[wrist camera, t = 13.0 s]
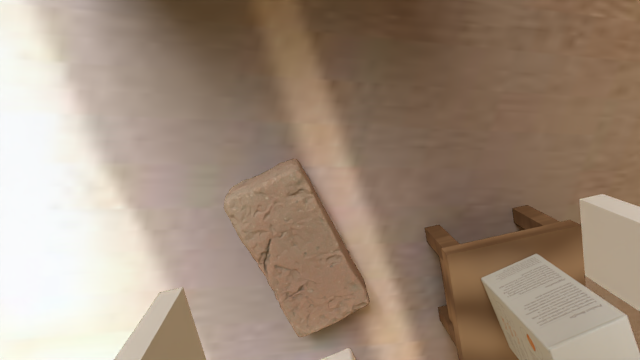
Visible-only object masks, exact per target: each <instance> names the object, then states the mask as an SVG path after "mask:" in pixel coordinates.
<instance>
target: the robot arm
mask: <svg viewBox="0 0 640 360" xmlns="http://www.w3.org/2000/svg"><path fill="white" fill-rule="evenodd" d="M579 200H580V213H581V227H582V241H583V254H584V268H585V276H586V277H588V278H589V279H591V280H592V281H594V282H595V283H597V284H598V285H600V286H602V287H603V288H605V289H606V290H608V291H609V292H611V293H612V294H614V295H615V296H617V297H618V298H620V299H621V300H623V301H624V302H626V303H628V304H629V305H631V306H632V307H634V308H635V309H637V310H638V311H640V207H639V206H636V205H633V204H630V203H627V202H624V201H621V200H619V199H616V198H613V197H610V196H607V195H604V194H600V195H596V196H591V197H587V198H582V199H579ZM114 360H206V358H205V355H204V351H203V348H202V345H201V342H200V339H199V336H198V333H197V330H196V326H195V323H194V320H193V317H192V314H191V311H190V308H189V305H188V301H187V298H186V295H185V292H184V289H183V287H182V288H178V289H173V290H169V291H164V292H160V293H159V294H158V296H157V297H156V299H155V300H154V302H153V303H152V305H151V306H150V308H149V309H148V311H147V312H146V313H145V315H144V316H143V318H142V319H141V321H140V322H139V324H138V325H137V327H136V328H135V330H134V331H133V333H132V334H131V335H130V337H129V338H128V340H127V341H126V343H125V344H124V346H123V347H122V349H121V350H120V352H119V353H118V354H117V356H116V357H115V359H114Z"/></svg>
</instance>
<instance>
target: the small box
mask: <svg viewBox="0 0 640 360" xmlns="http://www.w3.org/2000/svg"><path fill="white" fill-rule="evenodd" d="M481 281H482V283H483V285H484V287H485V290H486V292H487V295H488V297H489V299H490V302H491V304H492V306H493V309H494V311H495V313H496V316H497V318H498V321H499V323H500V326H501V328H502V330H503V333H504V335H505V337H506V340H507V342H508V345H509V347H510V349H511V350H512V351H513V353H514V354H515V355H516V356H517V358H518V359H519V360H640V351H639V348H638V346H637V343H636V339H635V337H634V334H633V330H632V327H631V325H630V322H629V318H628V316H627V315H626V314H625V313H623V312H622V311H620V310H619V309H617V308H616V307H615V306H613V305H612V304H610V303H609V302H607V301H606V300H604V299H603V298H601V297H600V296H598V295H597V294H595V293H594V292H593V291H591V290H590V289H588V288H587V287H585V286H584V285H582V284H581V283H579V282H578V281H576V280H575V279H573V278H572V277H571V276H569V275H568V274H566V273H565V272H563V271H562V270H560V269H559V268H557V267H556V266H554V265H553V264H551V263H550V262H549V261H547V260H546V259H544V258H543V257H541V256H540V255H538V254H534V255H532V256H530V257H527V258H525V259H523V260H521V261H518V262H516V263H514V264H512V265H509V266H507V267H505V268H503V269H500V270H498V271H496V272H494V273H491V274H489V275H487V276H485V277H482V278H481Z"/></svg>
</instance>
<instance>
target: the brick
mask: <svg viewBox="0 0 640 360" xmlns="http://www.w3.org/2000/svg"><path fill="white" fill-rule="evenodd" d="M225 198H226V199H225V202H224V209H225V212H226V213H227V215H228V217H229V218H230V220H231V222H232V225H233V227H234V228H235V229H236V232H237V234H238V236H239V238H240V239H241V241H242V242H243V244H244V245H245V246H246V248H247V249H248V250H249V251H250V253H251V255H252V257H253V258H254V259H255V261H256V262H258V266H259V268H260V269H261V271H262V272H263V273H264V275H265V276H266V278H267V280H268V283H269V285H270V286H271V288H272V290H273V291H274V293H275V296H276V299H277V300H278V301H279V304H280V307H281V308H282V310H283V312H284V314H285V315H286V317H287V319H288V320H289V322H290V324H291V325H292V327H293V329H294V331H295V333H296V334H297V335H298V337H304V336H307V335H309V334H311V333H313V332H314V331H315V332H318V331H320V330H321V329H323V328H325V327H328V326H330V325H332V324H334V323H336V322H338V321H340V320H342V319H343V318H345V317H346V316H348V315H350V314H351V313H353V312H355V311H357V310H359V309H360V308H362V307H364V306H367V305H368V304H369V297H368V294H367V291H366V286H365V283H364V280H363V278H362V276H361V274H360V273H359V271H358V269H357V268H356V265H355V264H354V263H353V261H352V259H351V257H350V255H349V251H348V250H347V249H346V247H345V245H344V243H343V241H342V240H341V237H340V235H339V234H338V232H337V231H336V229H335V227H334V225H333V223H332V221H331V220H330V218H329V217H328V214H327V212H326V211H325V209H324V207H323V206H322V204H321V202H320V200H319V198H318V196H317V194H316V192H315V190H314V188H313V186H312V184H311V182H310V180H309V178H308V176H307V175H306V173H305V172H304V170H303V168H302V167H301V165H300V163H299V161H298V160H297V159H292V160H288V161H286V162H284V163H283V162H282V163H279V164H278V165H277V166H275V167H274V168H273V169H270V170H268V171H266V172H264V173H262V174H261V175H258V176H255V177H252V178H251V179H246V180H244V181H242V182H240V183H239V184H237V185H235V186H233V187H232V188H231V189H230V190H229V193H228V194H227V195H226V197H225Z"/></svg>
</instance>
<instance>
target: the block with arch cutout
mask: <svg viewBox="0 0 640 360" xmlns="http://www.w3.org/2000/svg"><path fill="white" fill-rule="evenodd" d="M321 360H356V359H355V357H354V354H353V352H352V350H351V349H349V348H348V349H345V350H343V351H340V352H338V353H335V354H333V355H331V356H328V357H326V358H323V359H321Z"/></svg>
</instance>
